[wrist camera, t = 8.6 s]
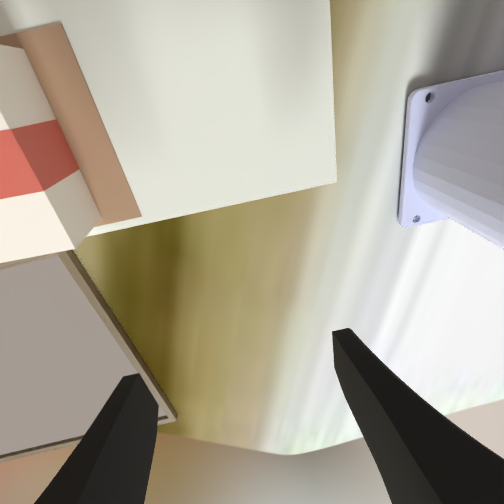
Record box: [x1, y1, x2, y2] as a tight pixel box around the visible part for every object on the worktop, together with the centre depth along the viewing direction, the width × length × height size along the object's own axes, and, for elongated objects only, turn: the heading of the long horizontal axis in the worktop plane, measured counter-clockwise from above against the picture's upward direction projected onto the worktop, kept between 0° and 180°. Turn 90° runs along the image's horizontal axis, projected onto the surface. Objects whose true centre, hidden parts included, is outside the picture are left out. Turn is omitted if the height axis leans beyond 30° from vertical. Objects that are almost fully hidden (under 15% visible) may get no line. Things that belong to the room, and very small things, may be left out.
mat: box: [0, 0, 337, 237], centre depth 13 cm, size 22×18×1 cm
